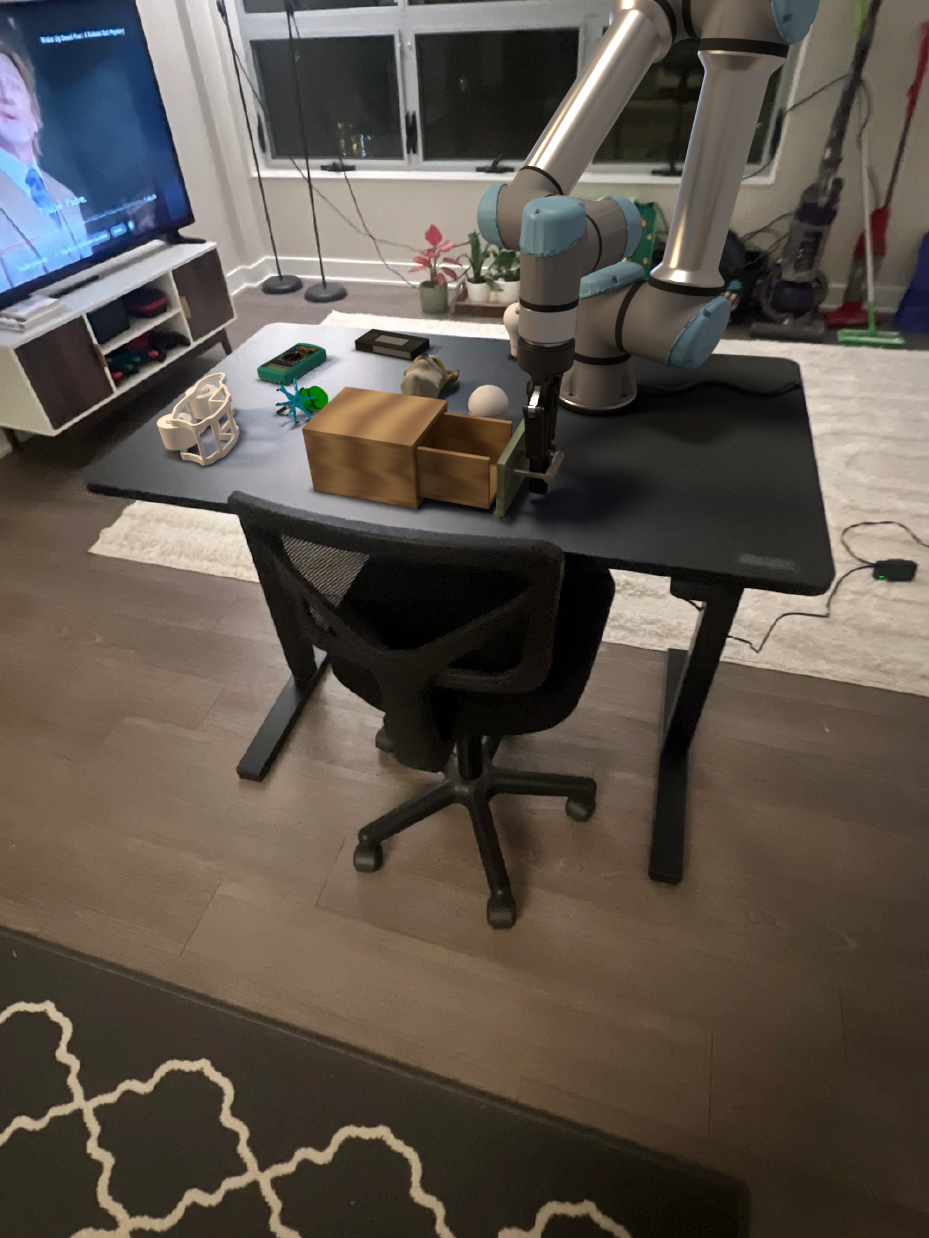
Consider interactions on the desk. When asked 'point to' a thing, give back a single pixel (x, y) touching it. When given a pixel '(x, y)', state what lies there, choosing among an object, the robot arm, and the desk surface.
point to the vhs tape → (392, 344)
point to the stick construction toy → (303, 400)
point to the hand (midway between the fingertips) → (537, 491)
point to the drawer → (475, 461)
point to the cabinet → (370, 444)
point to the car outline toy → (205, 405)
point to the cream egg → (489, 403)
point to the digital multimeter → (292, 363)
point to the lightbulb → (512, 327)
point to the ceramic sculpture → (427, 377)
